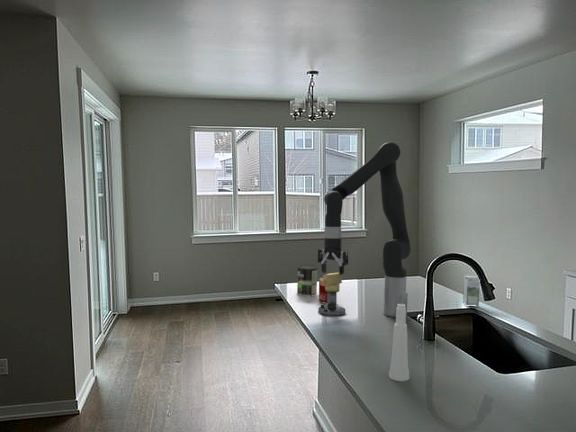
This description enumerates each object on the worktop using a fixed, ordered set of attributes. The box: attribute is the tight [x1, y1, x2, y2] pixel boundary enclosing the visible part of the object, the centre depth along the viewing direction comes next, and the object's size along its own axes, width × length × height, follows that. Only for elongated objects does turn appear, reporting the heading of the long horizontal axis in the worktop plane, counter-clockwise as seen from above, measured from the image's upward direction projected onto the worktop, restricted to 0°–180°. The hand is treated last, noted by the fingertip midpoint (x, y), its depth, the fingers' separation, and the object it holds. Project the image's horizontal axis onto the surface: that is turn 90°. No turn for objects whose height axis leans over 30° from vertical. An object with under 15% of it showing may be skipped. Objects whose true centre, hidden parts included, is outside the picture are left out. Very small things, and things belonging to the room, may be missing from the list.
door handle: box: [320, 272, 343, 293], centre depth 205 cm, size 10×6×8 cm, turn 127°
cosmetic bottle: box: [388, 304, 410, 382], centre depth 137 cm, size 6×6×22 cm
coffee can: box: [296, 264, 318, 297], centre depth 239 cm, size 10×10×14 cm
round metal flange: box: [317, 292, 346, 317], centre depth 206 cm, size 12×12×10 cm
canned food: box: [318, 277, 328, 304], centre depth 225 cm, size 8×8×11 cm
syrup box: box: [462, 274, 481, 306], centre depth 220 cm, size 6×6×14 cm
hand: (332, 273), depth 204 cm, fingers open, 8 cm apart
